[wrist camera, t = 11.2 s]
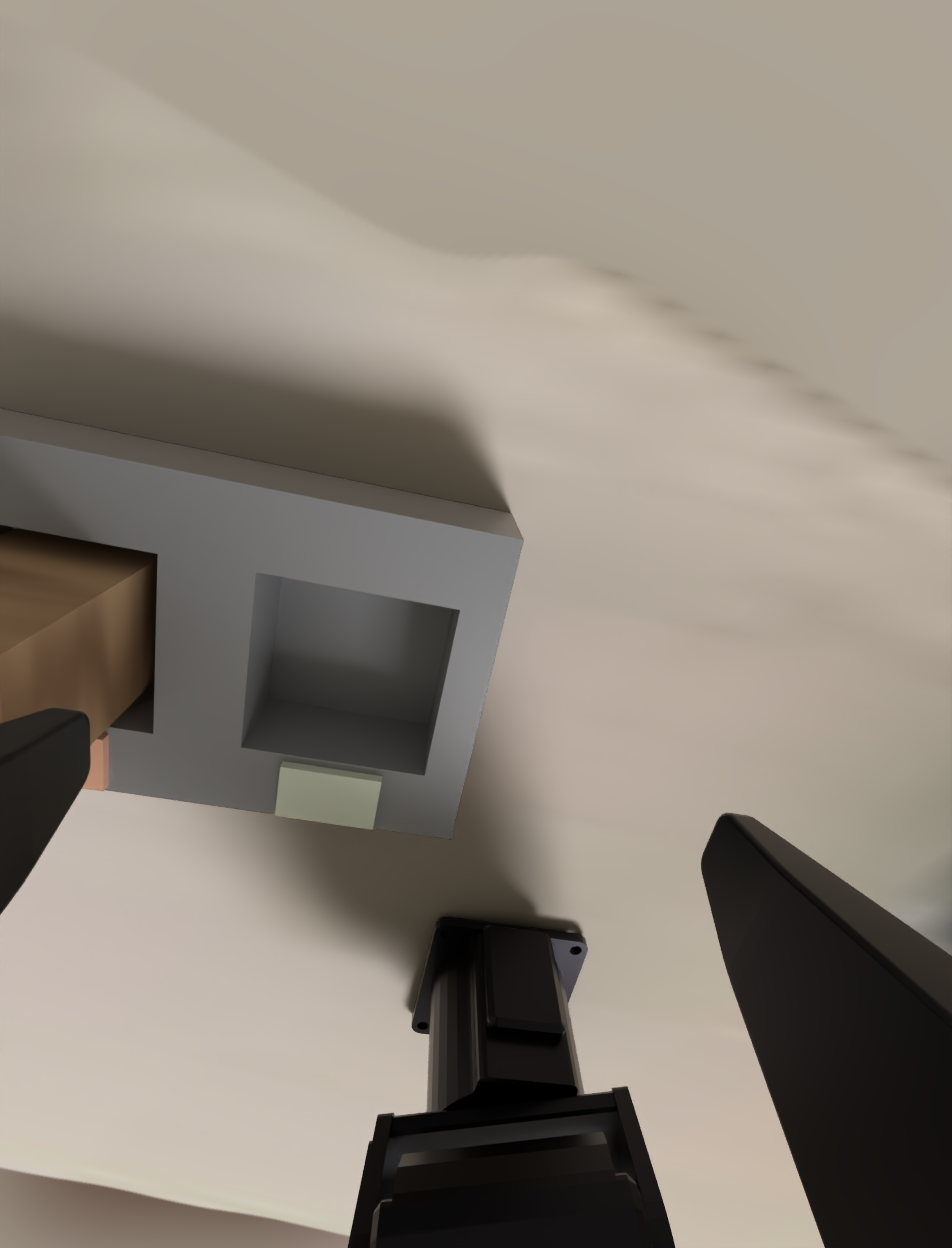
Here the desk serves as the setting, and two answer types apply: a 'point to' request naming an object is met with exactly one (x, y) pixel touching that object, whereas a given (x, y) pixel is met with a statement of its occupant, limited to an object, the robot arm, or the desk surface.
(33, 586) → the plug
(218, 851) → the desk surface
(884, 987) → the robot arm
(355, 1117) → the desk surface
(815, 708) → the desk surface
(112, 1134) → the desk surface
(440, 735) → the socket strip
